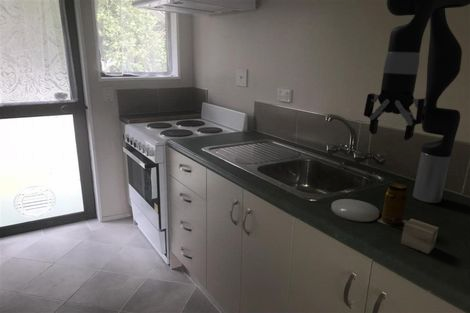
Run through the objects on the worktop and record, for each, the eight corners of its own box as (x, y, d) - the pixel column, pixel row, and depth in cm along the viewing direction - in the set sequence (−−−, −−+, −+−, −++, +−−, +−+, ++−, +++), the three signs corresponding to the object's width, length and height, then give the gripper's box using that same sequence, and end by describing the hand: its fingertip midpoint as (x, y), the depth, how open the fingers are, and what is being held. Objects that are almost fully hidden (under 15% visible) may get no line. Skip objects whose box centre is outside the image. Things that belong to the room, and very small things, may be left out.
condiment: (385, 214, 112) (390, 180, 109) (412, 223, 107) (419, 187, 104) (376, 221, 107) (382, 185, 104) (404, 231, 102) (412, 193, 98)
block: (407, 237, 98) (411, 218, 96) (434, 247, 93) (438, 227, 92) (400, 243, 95) (404, 223, 93) (428, 254, 90) (432, 233, 88)
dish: (345, 198, 124) (345, 195, 124) (386, 212, 114) (387, 209, 113) (322, 210, 114) (322, 206, 113) (365, 226, 103) (366, 222, 103)
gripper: (437, 73, 82) (424, 140, 86) (378, 70, 91) (369, 130, 96) (426, 73, 77) (413, 144, 81) (365, 70, 86) (356, 133, 91)
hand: (389, 136), depth 89 cm, fingers open, 8 cm apart
